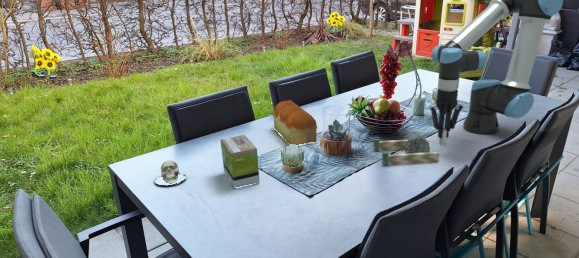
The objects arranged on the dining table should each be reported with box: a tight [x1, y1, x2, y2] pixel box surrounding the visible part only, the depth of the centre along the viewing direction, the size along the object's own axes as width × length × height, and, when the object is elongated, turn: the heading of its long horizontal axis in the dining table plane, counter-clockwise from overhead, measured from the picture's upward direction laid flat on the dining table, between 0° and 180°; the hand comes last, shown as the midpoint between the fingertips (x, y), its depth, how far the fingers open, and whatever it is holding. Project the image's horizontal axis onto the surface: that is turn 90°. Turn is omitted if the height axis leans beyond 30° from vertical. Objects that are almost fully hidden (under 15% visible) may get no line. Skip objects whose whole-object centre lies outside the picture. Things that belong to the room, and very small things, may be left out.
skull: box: [160, 159, 180, 184], centre depth 160 cm, size 12×10×10 cm
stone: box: [404, 133, 431, 154], centre depth 172 cm, size 10×10×10 cm
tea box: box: [220, 134, 261, 188], centre depth 157 cm, size 15×10×15 cm, turn 23°
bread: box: [272, 99, 318, 145], centre depth 196 cm, size 25×12×15 cm, turn 20°
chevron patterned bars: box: [372, 138, 440, 167], centre depth 172 cm, size 22×16×5 cm
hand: (442, 144), depth 172 cm, fingers closed
